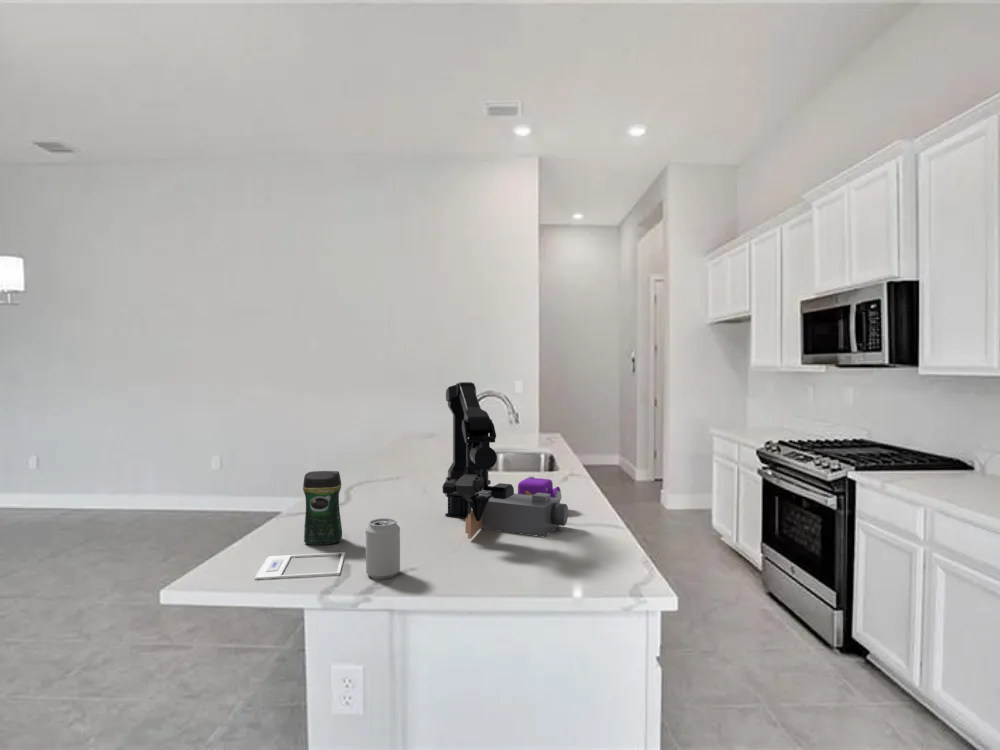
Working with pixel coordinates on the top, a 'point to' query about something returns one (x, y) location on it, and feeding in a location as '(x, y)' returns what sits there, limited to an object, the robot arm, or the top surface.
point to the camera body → (525, 514)
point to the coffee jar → (322, 507)
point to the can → (382, 548)
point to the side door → (472, 525)
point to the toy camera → (538, 487)
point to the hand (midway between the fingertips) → (478, 520)
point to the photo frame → (278, 563)
